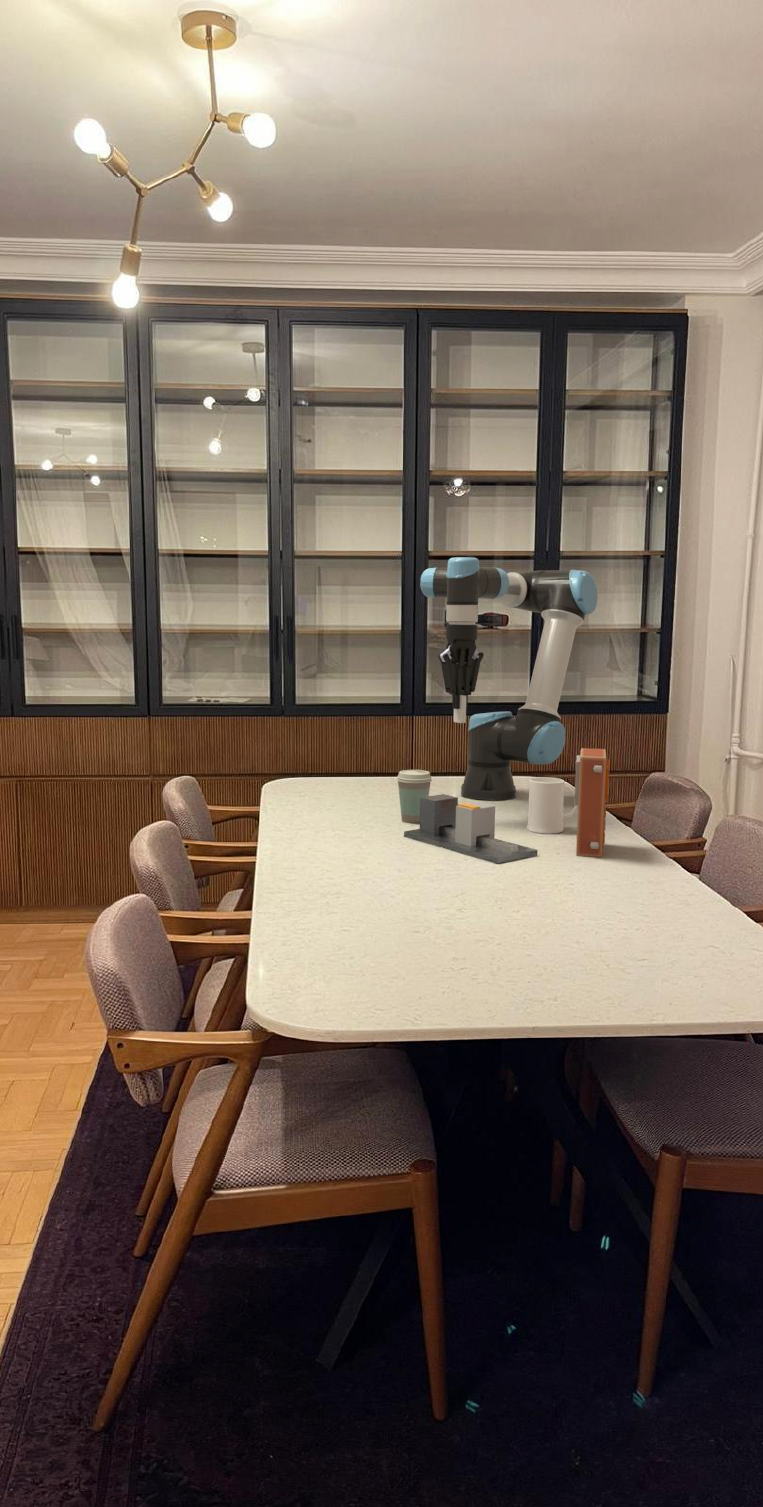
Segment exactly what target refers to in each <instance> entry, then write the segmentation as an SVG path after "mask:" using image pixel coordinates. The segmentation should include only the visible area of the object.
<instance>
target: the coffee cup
mask: <svg viewBox="0 0 763 1507" xmlns="http://www.w3.org/2000/svg"><path fill="white" fill-rule="evenodd" d="M396 777H397V779H396V781H397V784H398V795H399V804H400V805H399V806H400V816H401V821H402V822H405V823H408V824H420V797H427V796H430V790H431V783H432V781H433V780H432V776H431V772H430V771H428V770H423V769H405V770H400V771H399V772H398V775H397V776H396Z"/></svg>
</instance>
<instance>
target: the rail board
mask: <svg viewBox="0 0 763 1507" xmlns="http://www.w3.org/2000/svg"><path fill="white" fill-rule="evenodd" d="M458 804H459V797H456V796H452V795H448V794H446V793H445V794H442V793H441V794H436V795H435V794H434V795H429V796H427V797H420V823H419V828H417V829H410V830H404V831H403V837H404V838H408V839H411V840H413V841H414V840H415V841H418V842H422V843H424V844H427V845H428V844H429V845H431V844H432V846H434V845H435V847H439V848H441V847H442V848H441V849H445V850H449V851H451V852H456V853H458V854H459V853H460V854H463V855H466V856H470V857H472V858H475V859H480V860H482V861H485V862H490V863H493V864H497V865H498V864H502V863H507V862H511V861H512V860H513V861H518V860H522V859H527V858H531V857H536V856H538V849H536V848H532V847H528V846H524V845H520V844H518V843H514V842H513V843H512V842H509V841H505V840H502V839H498V838H495V837H494V838H490V837H486V836H483V835H481V836H476V846H468V845H464V844H461V843H457V842H455V831H456V806H458Z"/></svg>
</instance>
